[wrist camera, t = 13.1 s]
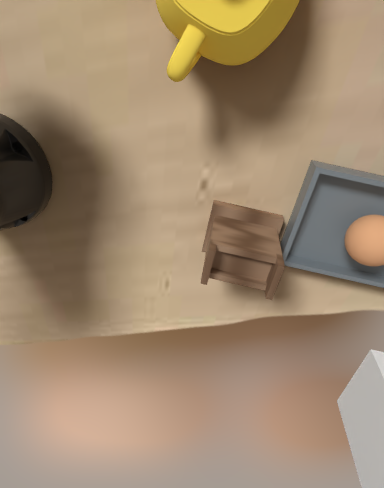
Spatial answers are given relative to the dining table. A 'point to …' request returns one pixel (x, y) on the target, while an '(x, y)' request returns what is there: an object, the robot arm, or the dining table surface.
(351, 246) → the ball
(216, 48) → the teapot
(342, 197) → the tray
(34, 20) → the dining table surface
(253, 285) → the stand
